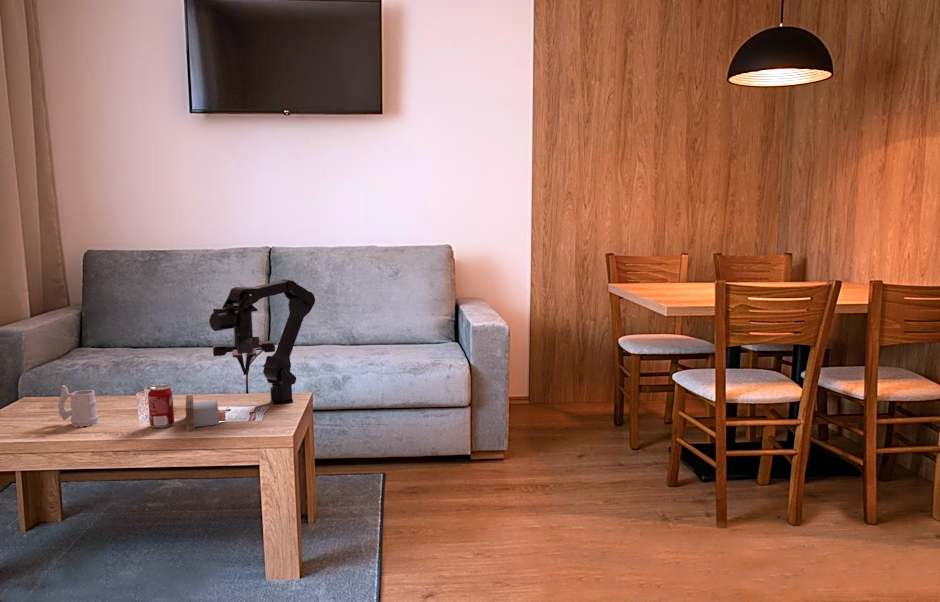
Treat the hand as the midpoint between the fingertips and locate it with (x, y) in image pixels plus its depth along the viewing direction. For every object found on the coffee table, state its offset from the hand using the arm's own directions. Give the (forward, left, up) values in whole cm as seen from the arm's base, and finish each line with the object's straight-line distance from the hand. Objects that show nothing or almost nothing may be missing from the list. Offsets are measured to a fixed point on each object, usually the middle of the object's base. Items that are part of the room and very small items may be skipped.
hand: (245, 374), depth 232 cm
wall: (+17, +8, -12) cm, 22 cm away
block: (+12, +8, -12) cm, 19 cm away
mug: (+49, -5, -12) cm, 51 cm away
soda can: (+25, +7, -12) cm, 29 cm away
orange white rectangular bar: (+11, +8, -12) cm, 19 cm away
